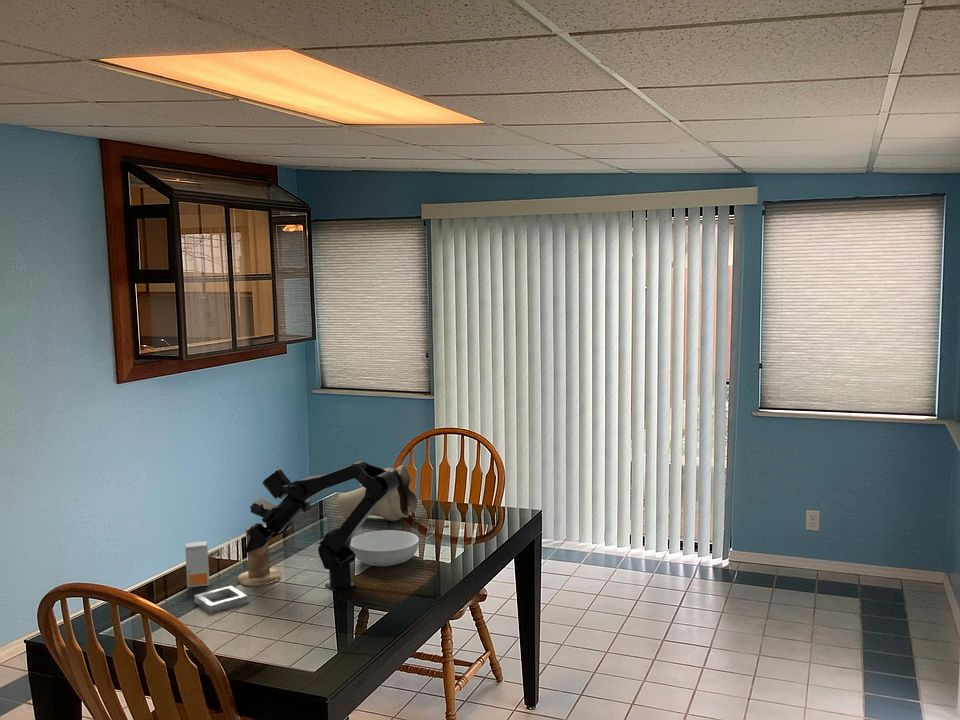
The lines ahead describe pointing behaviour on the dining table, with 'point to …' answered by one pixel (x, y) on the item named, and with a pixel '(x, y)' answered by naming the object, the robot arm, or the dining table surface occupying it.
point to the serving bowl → (384, 547)
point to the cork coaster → (248, 581)
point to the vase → (388, 508)
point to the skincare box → (197, 564)
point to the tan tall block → (258, 560)
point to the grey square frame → (211, 607)
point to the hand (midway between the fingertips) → (253, 546)
